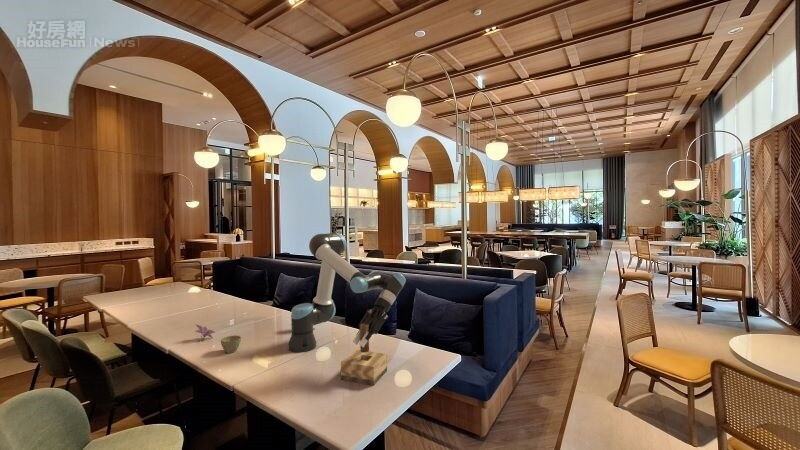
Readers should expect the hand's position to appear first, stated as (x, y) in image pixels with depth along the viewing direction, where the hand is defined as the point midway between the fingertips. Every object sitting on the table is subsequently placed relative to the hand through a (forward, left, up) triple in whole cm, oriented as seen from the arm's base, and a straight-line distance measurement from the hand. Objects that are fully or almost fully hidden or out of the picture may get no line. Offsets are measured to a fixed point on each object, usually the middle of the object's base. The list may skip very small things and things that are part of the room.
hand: (358, 344), depth 152 cm
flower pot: (-80, +5, -15) cm, 81 cm away
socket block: (+1, +3, -15) cm, 16 cm away
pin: (+2, +3, -4) cm, 6 cm away
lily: (-109, +14, -15) cm, 111 cm away
